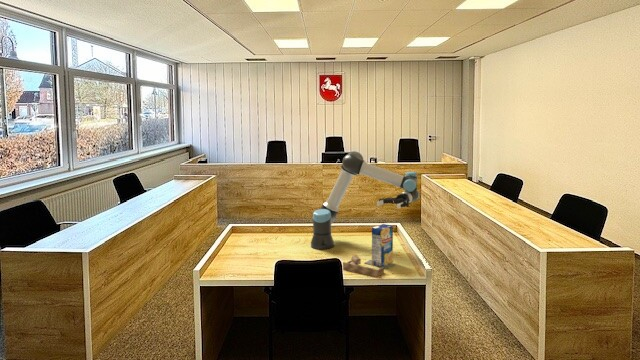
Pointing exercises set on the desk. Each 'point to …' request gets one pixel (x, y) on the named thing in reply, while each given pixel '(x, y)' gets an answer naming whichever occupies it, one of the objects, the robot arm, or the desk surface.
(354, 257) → the offcut top
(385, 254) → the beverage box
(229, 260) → the desk surface
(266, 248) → the desk surface
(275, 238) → the desk surface
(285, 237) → the desk surface
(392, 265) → the pad
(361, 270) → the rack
